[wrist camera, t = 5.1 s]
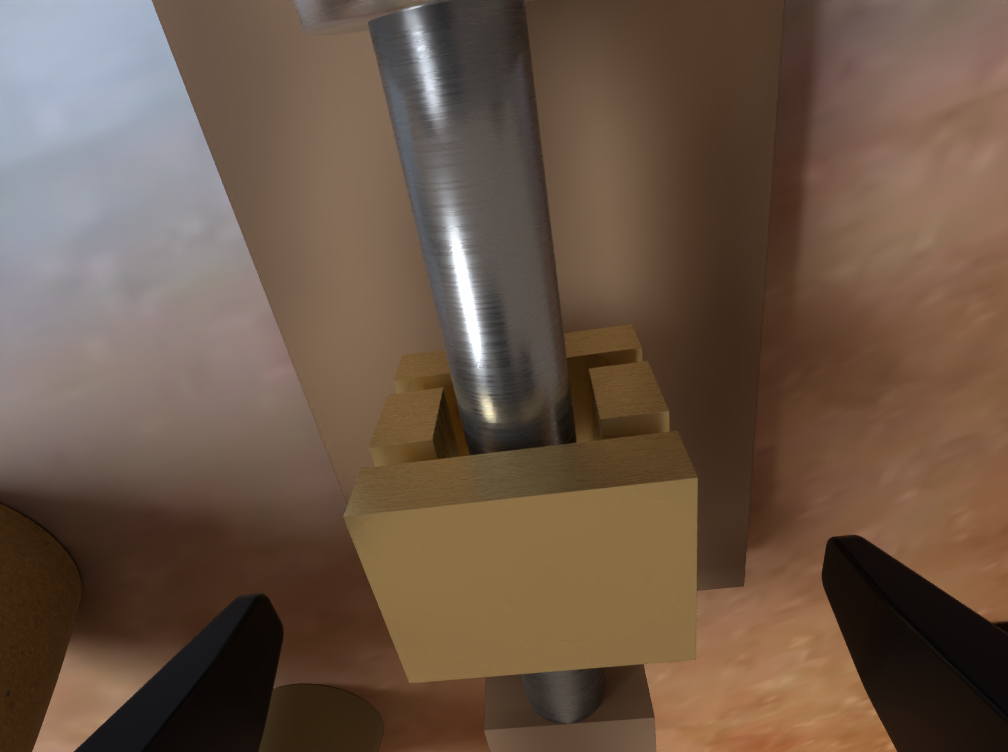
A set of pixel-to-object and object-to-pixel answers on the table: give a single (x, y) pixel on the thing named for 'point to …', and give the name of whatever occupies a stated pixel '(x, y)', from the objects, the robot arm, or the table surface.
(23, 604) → the plant pot
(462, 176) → the bolt
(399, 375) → the nut
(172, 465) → the table surface
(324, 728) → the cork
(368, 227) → the jig
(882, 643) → the robot arm
